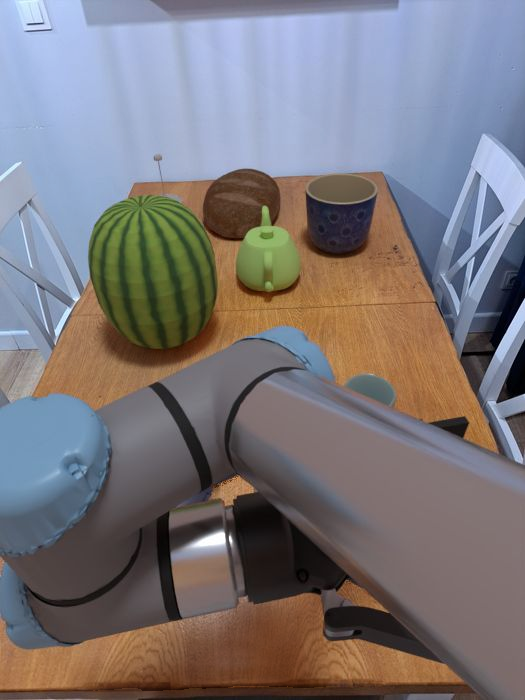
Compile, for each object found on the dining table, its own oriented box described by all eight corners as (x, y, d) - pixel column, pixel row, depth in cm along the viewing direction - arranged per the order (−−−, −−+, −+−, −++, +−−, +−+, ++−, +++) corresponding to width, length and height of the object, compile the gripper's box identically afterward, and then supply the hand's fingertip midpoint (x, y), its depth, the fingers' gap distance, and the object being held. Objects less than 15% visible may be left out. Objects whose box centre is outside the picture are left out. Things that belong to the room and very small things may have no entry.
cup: (327, 434, 78) (331, 391, 72) (358, 408, 82) (364, 365, 76) (366, 463, 74) (373, 421, 67) (397, 435, 78) (407, 392, 71)
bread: (195, 242, 129) (191, 212, 124) (213, 183, 157) (210, 157, 151) (278, 241, 128) (277, 211, 122) (282, 182, 155) (281, 156, 150)
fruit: (100, 373, 93) (49, 231, 73) (124, 302, 110) (88, 171, 90) (220, 369, 93) (201, 225, 73) (225, 298, 110) (211, 166, 90)
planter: (306, 263, 119) (308, 205, 109) (301, 229, 132) (302, 174, 122) (376, 260, 119) (384, 201, 109) (364, 227, 132) (370, 171, 122)
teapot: (237, 253, 124) (234, 204, 116) (296, 250, 124) (297, 202, 115) (236, 305, 108) (231, 253, 99) (303, 302, 108) (305, 250, 99)
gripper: (221, 445, 47) (427, 409, 50) (271, 779, 29) (594, 697, 31) (212, 392, 42) (443, 355, 45) (267, 755, 24) (652, 660, 26)
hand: (506, 496), depth 38 cm, fingers open, 13 cm apart
